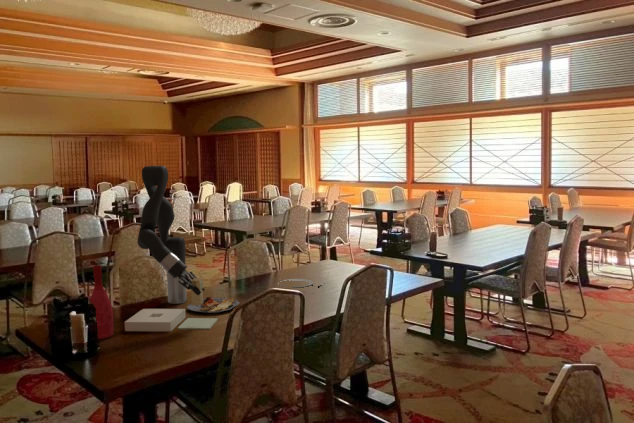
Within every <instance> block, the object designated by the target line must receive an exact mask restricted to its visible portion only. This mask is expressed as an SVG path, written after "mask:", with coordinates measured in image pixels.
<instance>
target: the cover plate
mask: <svg viewBox="0 0 634 423" xmlns="http://www.w3.org/2000/svg"><path fill="white" fill-rule="evenodd" d="M186 319H187V318H186V308H142V309H141V310H139V311H138V312H136V313H135V314H134V315H132V316H130V317H129V318H128V319H126V320H125V321H124V331H125V332H173V330H174V329H175V328H176V327H177V326H178V325H180V324H181V323H182V322H183V321H185V320H186Z"/></svg>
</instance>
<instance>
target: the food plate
mask: <svg viewBox="0 0 634 423" xmlns="http://www.w3.org/2000/svg"><path fill="white" fill-rule="evenodd" d="M217 305H218V306H217ZM238 305H240V301H239V300H237V299H236V297H226V296H225V297H221V296H220V297H218V296H217V297H211V296H208V297H206V298H203V304H202V305H192V302H191V303H190V304H187V306H186V308H187V310H190V311H191V312H193V311H194V312H199V313H205V314H210V313H211V314H212V313H213V314H218V313H222V312H224V311H225V312H226V311H229V310H231V309H234V308H235V307H237V306H238ZM216 306H217V307H216ZM212 307H215V308H214V309H213V310H211V311H209V310H210V309H212Z"/></svg>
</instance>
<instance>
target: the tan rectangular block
mask: <svg viewBox="0 0 634 423" xmlns="http://www.w3.org/2000/svg"><path fill="white" fill-rule="evenodd" d="M203 280H204V279H203V278H202V277H201V278H198V277H197V278H195V279H192V283H193V284H194V285H195V286H196V287H197V288H198V289H199V290H200V291H201V293H200V294H199V295H197V294H195V293H194V292H193V291H192V290H190V295H191V296H190V298H191V303H192V305H202V304H203V299H204V291H203V288H204V281H203Z"/></svg>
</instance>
